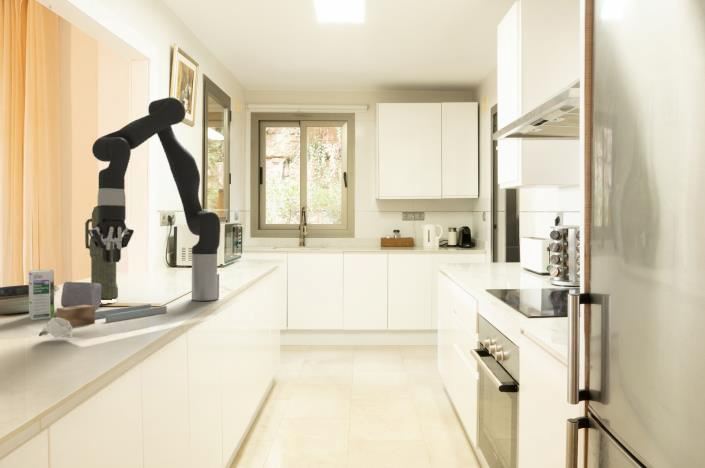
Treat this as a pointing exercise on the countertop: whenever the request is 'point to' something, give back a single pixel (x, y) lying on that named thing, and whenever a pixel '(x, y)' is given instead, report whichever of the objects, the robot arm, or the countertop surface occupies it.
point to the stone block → (81, 294)
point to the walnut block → (77, 314)
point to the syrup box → (41, 294)
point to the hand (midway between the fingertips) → (111, 262)
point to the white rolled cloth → (57, 328)
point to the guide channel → (129, 312)
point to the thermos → (101, 263)
